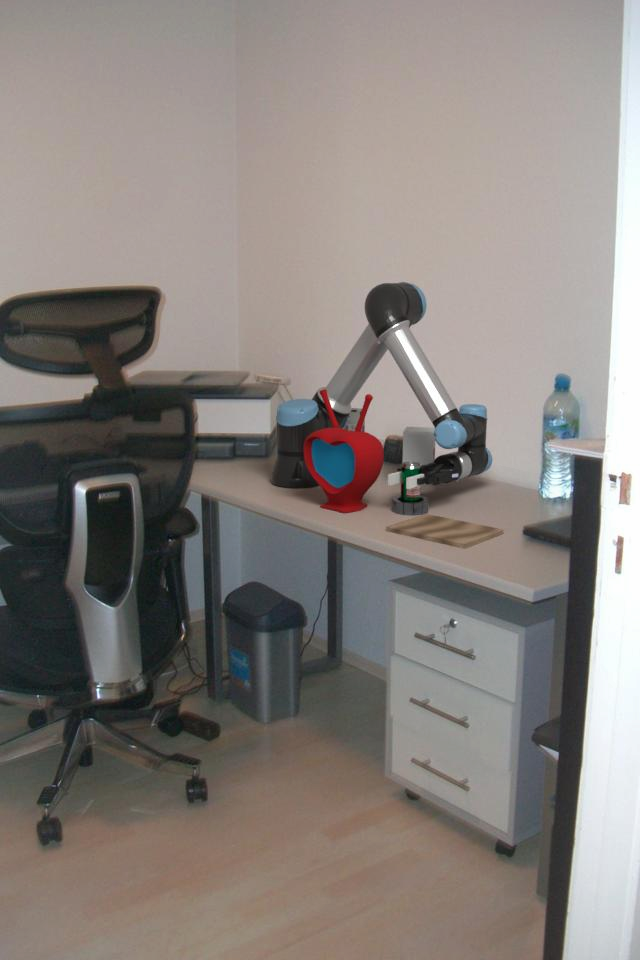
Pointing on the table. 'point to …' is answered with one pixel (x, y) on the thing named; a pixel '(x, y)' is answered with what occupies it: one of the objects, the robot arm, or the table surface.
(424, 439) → the supplement box
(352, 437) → the novelty television
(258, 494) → the table surface
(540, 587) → the table surface
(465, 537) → the walnut board
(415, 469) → the soda can
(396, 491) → the table surface
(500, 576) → the table surface
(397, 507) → the sleeve
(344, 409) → the robot arm
